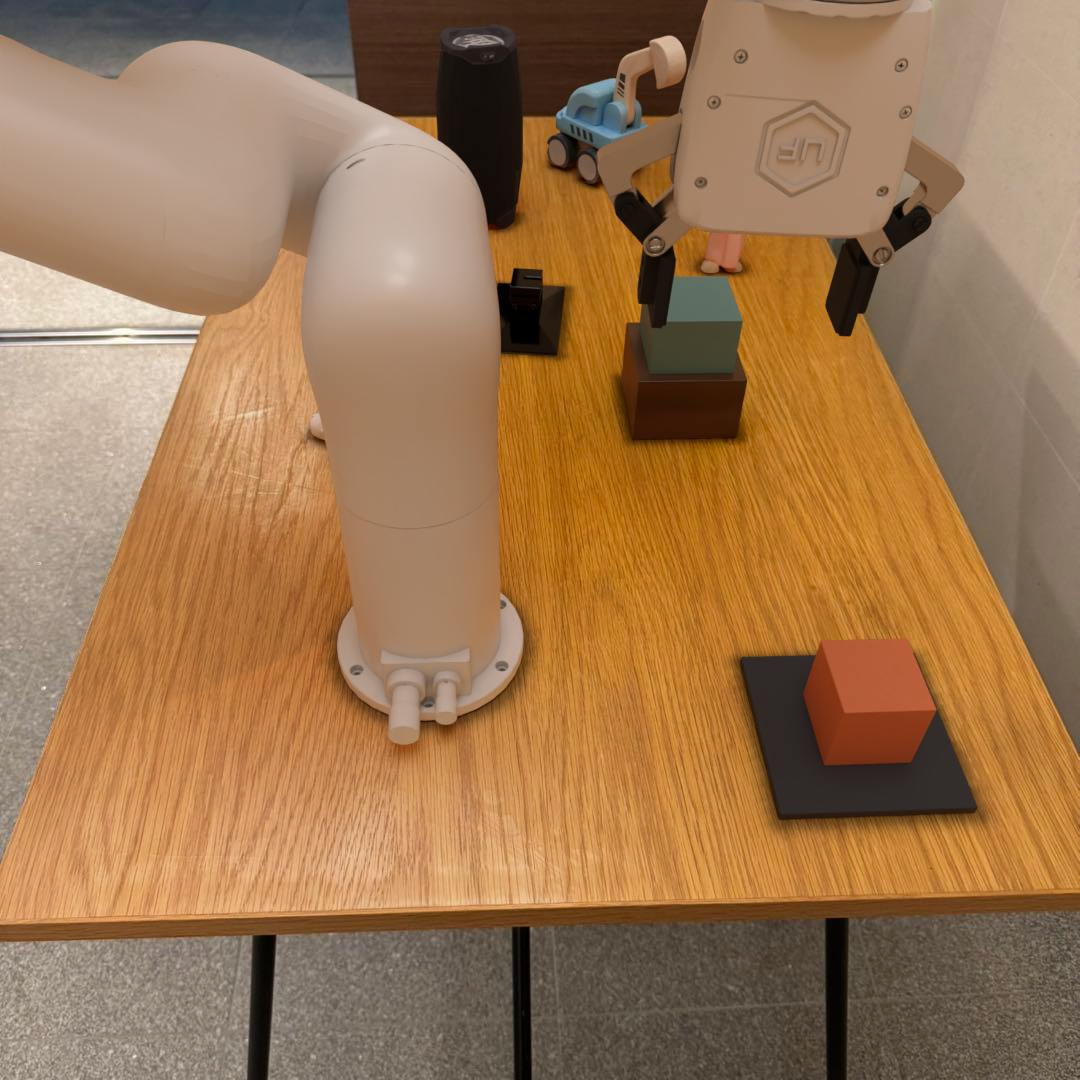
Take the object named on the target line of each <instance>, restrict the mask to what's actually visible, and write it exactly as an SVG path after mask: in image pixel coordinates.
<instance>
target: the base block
mask: <svg viewBox="0 0 1080 1080" xmlns="http://www.w3.org/2000/svg"><path fill="white" fill-rule="evenodd" d="M639 325H640V321H638V322H631V321H630V322H626V324H625V335H624V345H623V354H622V355H623V356H622V366H621V367H622V368H621V377H620V379H621V384H622V390H623V396H624V401H625V406H626V411H627V417H628V422H629V428H630V433H631V438H632V440H681V439H682V440H686V439H687V440H688V439H690V440H691V439H693V440H694V439H736V438H737V436H738V432H739V426H740V421H741V416H742V412H743V405H744V401H745V395H746V391H747V384H748V378H747V374H746V371H745V368H744V365H743V363H742V360H741V357H740V354H739V351H738V350H737V356H736V361H735V367H734V372H733V373H701V374H649V370H648V365H647V361H646V356H645V352H644V347H643V343H642V338H641V334H640V329H639Z"/></svg>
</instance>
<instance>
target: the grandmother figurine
mask: <svg viewBox="0 0 1080 1080" xmlns="http://www.w3.org/2000/svg"><path fill="white" fill-rule="evenodd" d="M745 240H746V234H729V233H715V232H709V236H708V239H707V244H706V249H705V250H706V251H705V254H704V258H705V259H704V260H703V262H702V263H701V265H700V270H701V272H703V273H705V274H717V273H718V272H719V271H720V267H721V268H723V270H724V271H726V272H727V273H740V272H742V270H743V266H742V264H741V262H740V261H739V260H740V259H741V257H742V252H743V249H744V245H745Z"/></svg>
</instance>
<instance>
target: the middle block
mask: <svg viewBox="0 0 1080 1080" xmlns="http://www.w3.org/2000/svg"><path fill="white" fill-rule="evenodd" d="M640 305H641V307H640V315H639V322H640V325H639V329H640V334H641V338H642V343H643V347H644V352H645V356H646V361H647V365H648V370H649V374H701V373H733V372H734V367H735V361H736V356H737V351H738V350H739V345H740V340H741V333H742V329H743V322H744V320H743V317H742V314H741V311H740V309H739V306H738V303H737V301H736V298H735V295H734V292H733V290H732V286H731V284H730V281H729V279H728V276H727V275H723V276H722V275H720V276H719V275H718V276H717V275H715V276H713V275H711V276H709V275H707V276H705V275H704V276H701V275H700V276H697V275H696V276H674V279H673V285H672V291H671V297H670V304H669V310H668V316H667V322H666V326H662V328H651V323H650V316H649V310H648V304H640Z"/></svg>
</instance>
